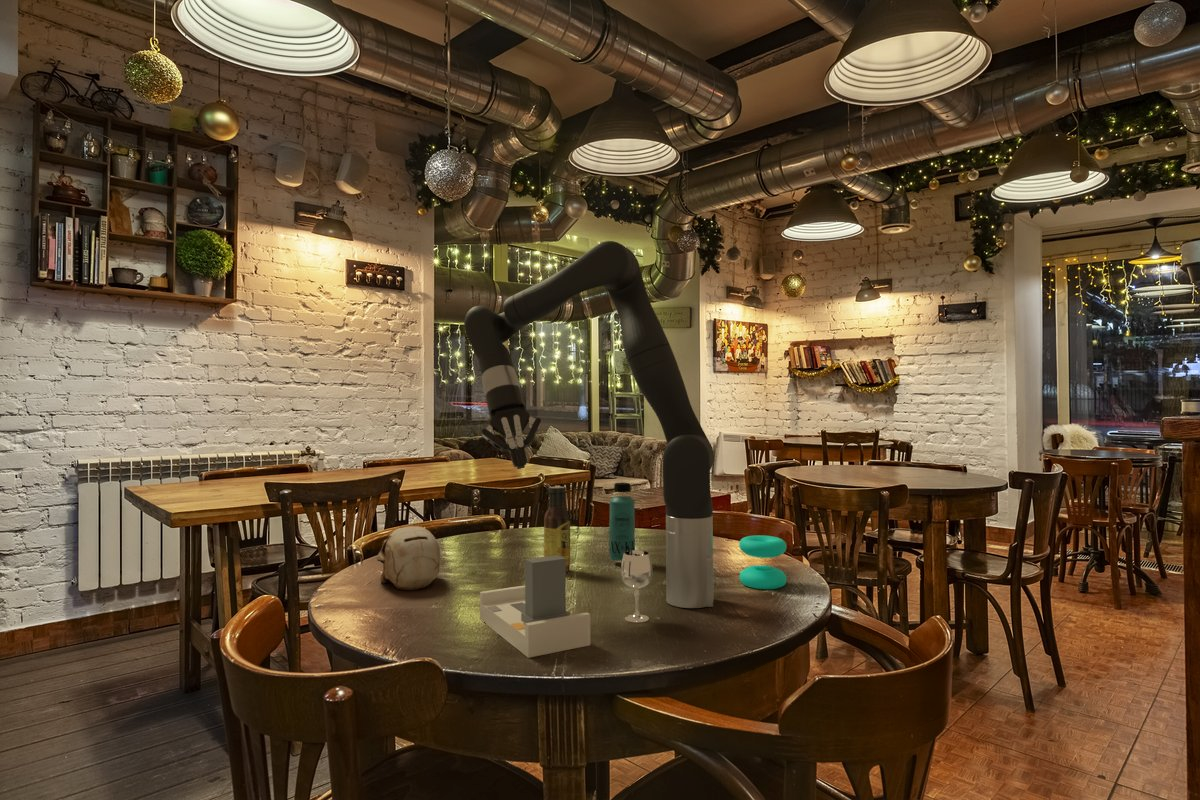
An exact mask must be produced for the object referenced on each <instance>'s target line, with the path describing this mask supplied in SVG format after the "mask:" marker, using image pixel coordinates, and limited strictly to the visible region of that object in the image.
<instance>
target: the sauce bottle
mask: <svg viewBox="0 0 1200 800" xmlns="http://www.w3.org/2000/svg"><path fill="white" fill-rule="evenodd" d="M566 489H567V488H566V486H549V487H548V497H549V498H548V500H549V503H548V508H547V510H546V511H545V514H544V517H543V519H544V520H543V521H544V523H543V524H544V526H543V557H547V556H555V555H558V556H561V557H563V558H565V568H566V573H568V572H569V571H570V566H571V519H570V516H569V513H568V510H567V507H566V499H565V498H566V492H567V490H566Z"/></svg>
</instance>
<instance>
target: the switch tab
mask: <svg viewBox="0 0 1200 800" xmlns="http://www.w3.org/2000/svg"><path fill="white" fill-rule="evenodd" d="M566 575H567V572H566V568H565V558H563V557H561V556H558V555H555V556H547V557H544V556H542V557H532V558H525V559H524V585H525V613H521V621H523V622H524V623H530V622H535V621H541V620H547V619H553V618H558V617H564V616H570V615H571V613H570V612H568V611H567V610H566V605H567V602H566V601H567V599H566V595H567V594H566V593H567V591H566V590H567V587H566V585H567V584H566V582H567V581H566V578H567V577H566Z"/></svg>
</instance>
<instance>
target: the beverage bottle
mask: <svg viewBox="0 0 1200 800" xmlns="http://www.w3.org/2000/svg"><path fill="white" fill-rule="evenodd" d="M613 485H614V487H613V492H615V493H629V492H630V493H631V484H630V483H629V482H615V483H614V484H613ZM635 501H636V500H634V499H633V498H632V497H631V496H630V495H615V496H613V497H611V499H610V500H609V522H608V529H609V530H608V535H609V536H608V554H609V555H608V556H609V559H610V560H612V561H618V562H619V561H621V562H622V559H623V555H624V552H626V551H632V550H636V546H635V545H636V528H635V525H636V522H635V521H636V520H635V505H636V504H635Z"/></svg>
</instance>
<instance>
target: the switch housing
mask: <svg viewBox="0 0 1200 800" xmlns="http://www.w3.org/2000/svg"><path fill="white" fill-rule="evenodd" d="M521 613H525V584H524V585H519V586H512V587H511V586H510V587H505V588H504V587H503V588H498V589H491V590H484V591H480V592H479V619H481V621H482V622H483V623H484V622H485V623H486V624H485V623H484V624H485V625H487V626H488V627H489V628H490V629H492V630H493V631H494V632H495V633H496V634H498V635H499V636H501V638H503V640H505V641H506V642H507V643H509V644H511V646H513V647H514V648H515V649H517V650H518V651H519V652H520V653H521V654H523V655H524V656H526V657H527V659H528V658H534V657H538V656H539V657H540V656H543V655H549V654H554V653H558V652H563V651H567V650H572V649H573V650H574V649H578V648H583V647H588V646H591V614H590V613H588V612H582V613H581V612H580V613H576V614H570V616H564V617H558V618H553V619H547V620H541V621H535V622H530V623H524V622H523V621H521Z"/></svg>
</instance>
